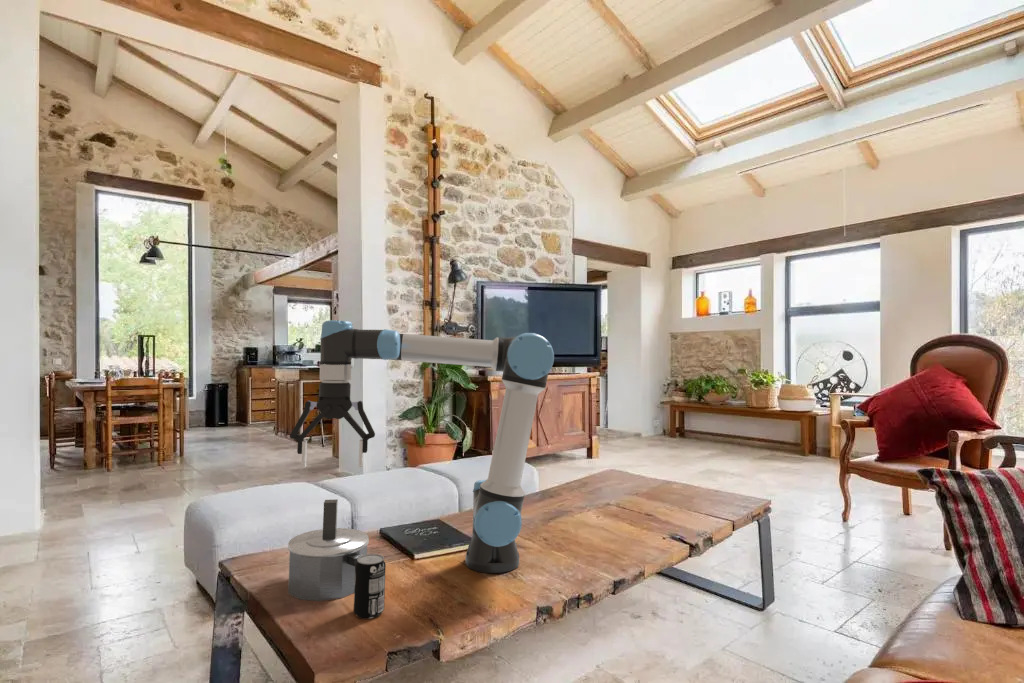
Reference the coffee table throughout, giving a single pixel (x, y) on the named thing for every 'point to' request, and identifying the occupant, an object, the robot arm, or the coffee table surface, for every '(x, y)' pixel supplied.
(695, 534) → the coffee table surface
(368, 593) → the beverage can
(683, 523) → the coffee table surface
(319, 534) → the lid
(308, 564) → the pot
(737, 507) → the coffee table surface
